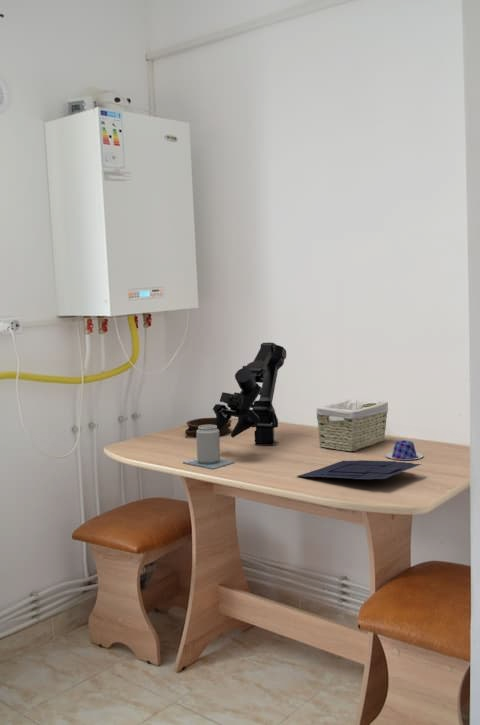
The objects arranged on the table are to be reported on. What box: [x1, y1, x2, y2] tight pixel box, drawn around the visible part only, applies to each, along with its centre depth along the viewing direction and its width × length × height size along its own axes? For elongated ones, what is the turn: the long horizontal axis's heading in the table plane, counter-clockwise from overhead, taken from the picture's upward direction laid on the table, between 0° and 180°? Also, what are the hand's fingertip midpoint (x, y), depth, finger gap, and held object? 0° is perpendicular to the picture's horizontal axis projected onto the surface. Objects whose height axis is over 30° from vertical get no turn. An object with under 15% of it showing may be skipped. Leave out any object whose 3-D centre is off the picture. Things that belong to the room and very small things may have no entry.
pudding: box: [385, 439, 424, 461], centre depth 251 cm, size 12×12×5 cm
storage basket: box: [316, 398, 389, 452], centre depth 270 cm, size 24×16×15 cm
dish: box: [184, 417, 233, 437], centre depth 298 cm, size 18×22×5 cm
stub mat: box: [182, 457, 236, 470], centre depth 251 cm, size 14×10×1 cm
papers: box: [298, 459, 422, 480], centre depth 228 cm, size 24×30×4 cm
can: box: [196, 425, 221, 464], centre depth 250 cm, size 8×8×12 cm
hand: (222, 434), depth 254 cm, fingers open, 9 cm apart
